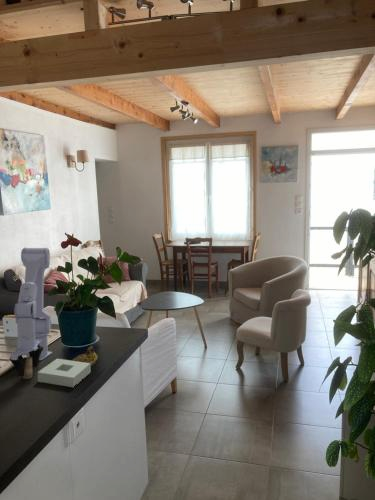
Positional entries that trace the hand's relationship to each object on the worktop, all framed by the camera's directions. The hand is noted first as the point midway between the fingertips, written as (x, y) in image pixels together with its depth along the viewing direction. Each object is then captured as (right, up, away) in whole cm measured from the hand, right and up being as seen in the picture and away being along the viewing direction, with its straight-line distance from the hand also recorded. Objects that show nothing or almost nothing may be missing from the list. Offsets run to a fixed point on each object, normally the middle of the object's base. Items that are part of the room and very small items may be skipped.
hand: (27, 371), depth 143 cm
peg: (0, -2, 0) cm, 2 cm away
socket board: (+13, -2, +1) cm, 13 cm away
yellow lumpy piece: (+17, -1, +15) cm, 22 cm away
